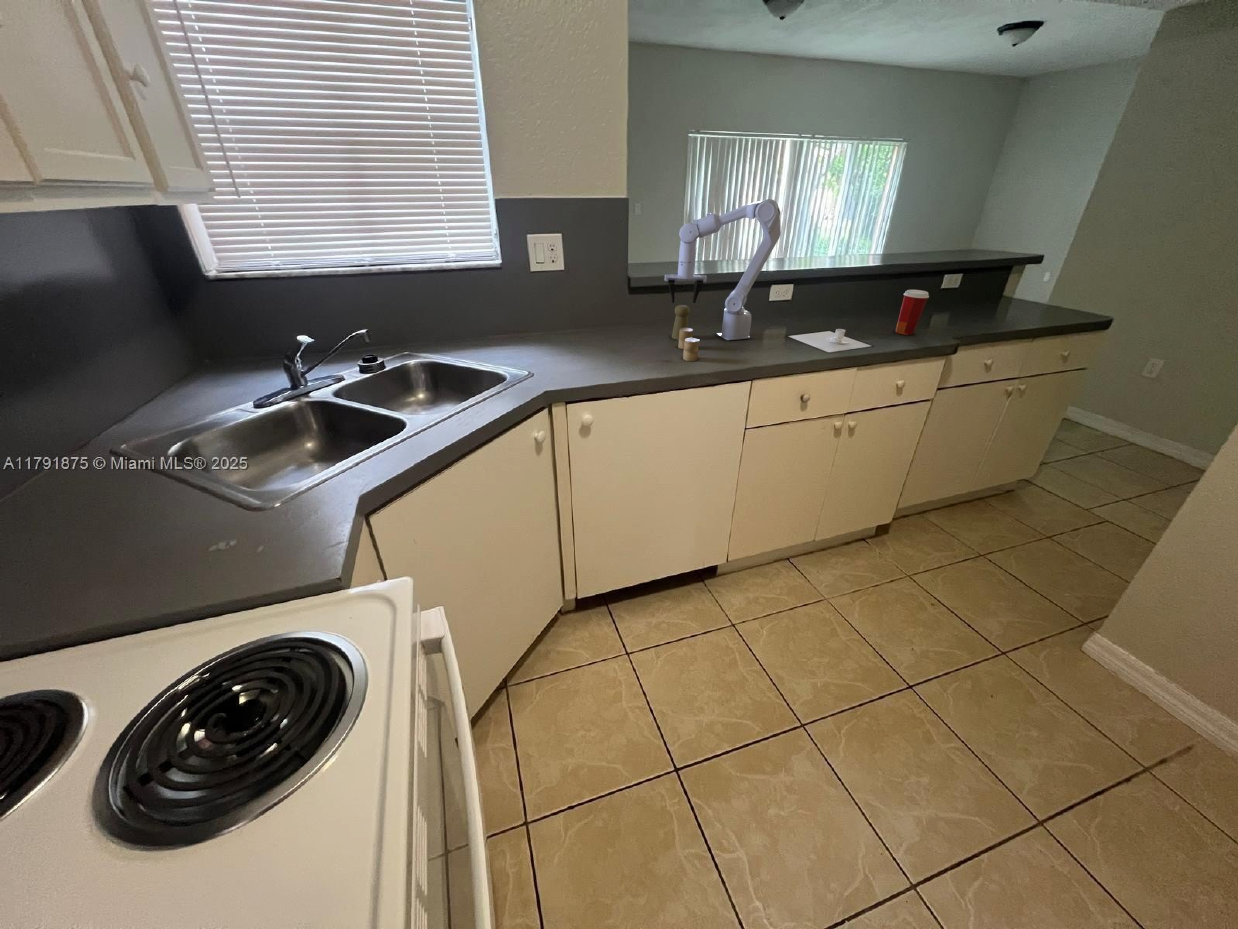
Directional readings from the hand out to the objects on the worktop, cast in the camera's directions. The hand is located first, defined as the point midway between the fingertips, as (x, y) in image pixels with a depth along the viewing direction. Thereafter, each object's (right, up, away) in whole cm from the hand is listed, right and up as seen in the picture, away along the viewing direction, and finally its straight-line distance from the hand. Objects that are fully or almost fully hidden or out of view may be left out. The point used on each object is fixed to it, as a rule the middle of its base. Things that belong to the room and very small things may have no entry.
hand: (683, 302), depth 174 cm
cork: (-1, -13, -1) cm, 13 cm away
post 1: (-1, -19, -12) cm, 22 cm away
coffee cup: (+85, -8, +10) cm, 86 cm away
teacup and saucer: (+52, -15, -2) cm, 54 cm away
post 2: (-1, -25, -22) cm, 33 cm away
